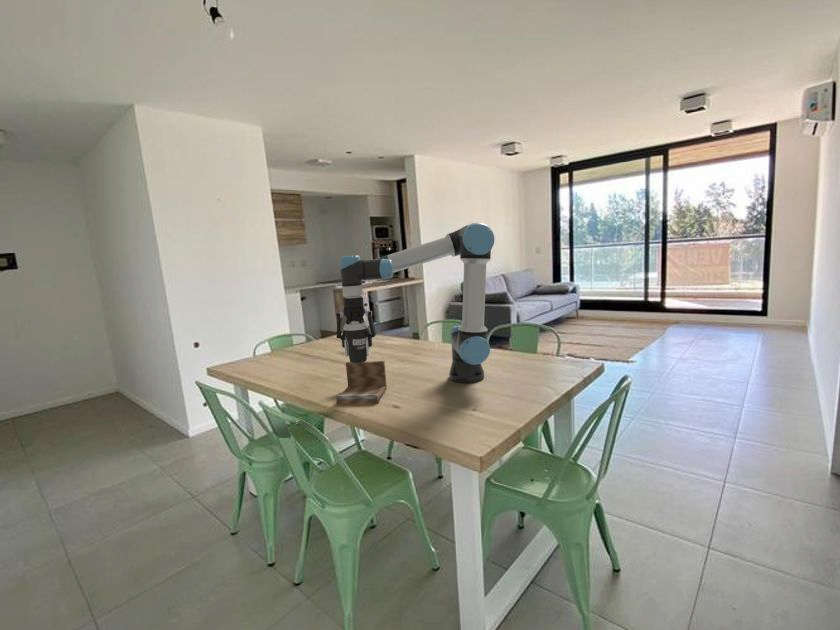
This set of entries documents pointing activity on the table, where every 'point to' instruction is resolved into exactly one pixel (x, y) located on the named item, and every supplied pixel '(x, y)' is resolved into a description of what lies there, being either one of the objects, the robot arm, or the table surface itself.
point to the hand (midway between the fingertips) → (358, 355)
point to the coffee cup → (356, 341)
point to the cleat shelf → (364, 383)
